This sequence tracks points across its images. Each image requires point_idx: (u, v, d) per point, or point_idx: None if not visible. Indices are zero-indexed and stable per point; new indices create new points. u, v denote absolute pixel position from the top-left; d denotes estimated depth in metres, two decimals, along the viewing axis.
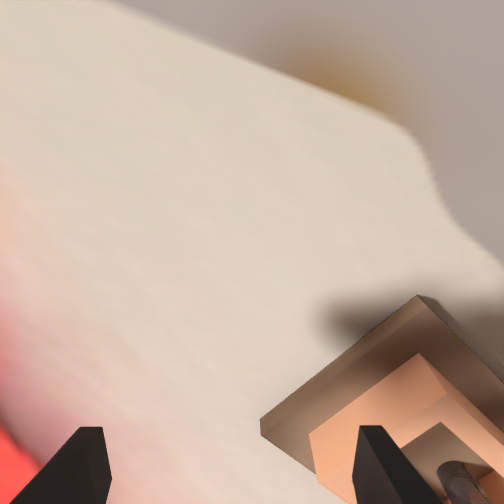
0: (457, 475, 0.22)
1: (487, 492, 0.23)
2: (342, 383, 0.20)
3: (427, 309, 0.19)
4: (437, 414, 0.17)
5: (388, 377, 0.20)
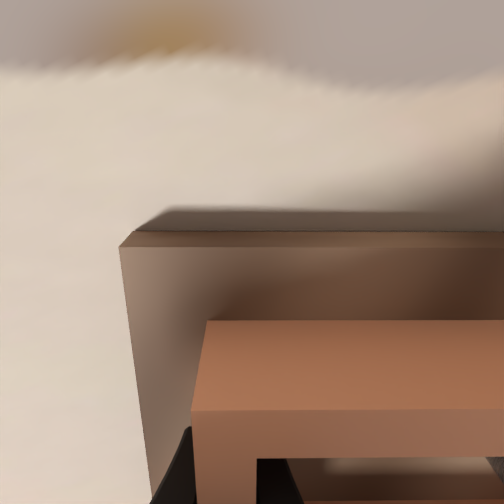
0: None
1: None
2: (165, 441, 0.11)
3: (127, 250, 0.09)
4: (231, 453, 0.07)
5: None
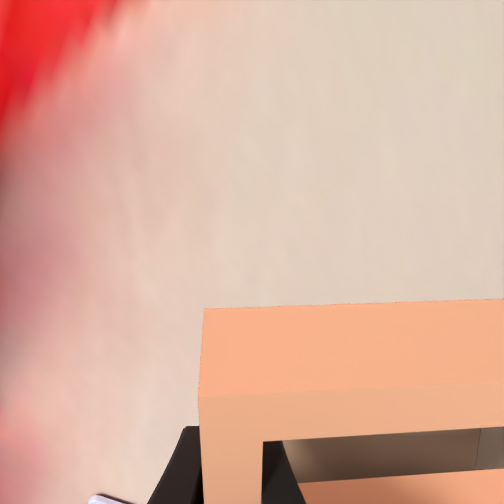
0: None
1: None
2: None
3: None
4: (237, 437, 0.07)
5: None
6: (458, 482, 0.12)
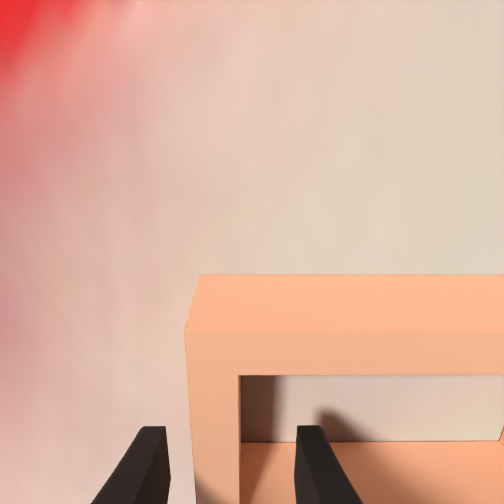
0: None
1: None
2: None
3: None
4: (217, 370, 0.09)
5: None
6: (433, 450, 0.13)
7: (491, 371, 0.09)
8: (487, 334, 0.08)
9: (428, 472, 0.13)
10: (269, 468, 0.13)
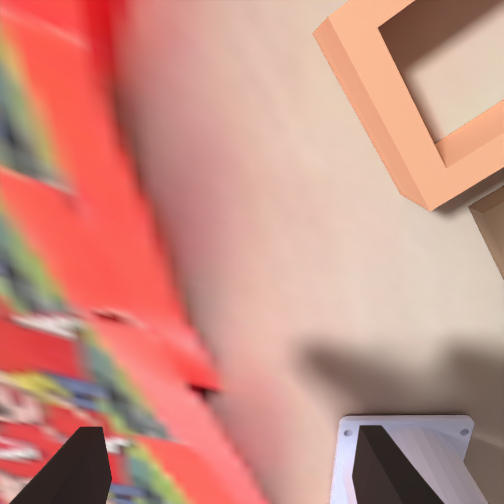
0: None
1: None
2: None
3: None
4: (362, 32, 0.12)
5: (339, 80, 0.15)
6: None
7: None
8: None
9: None
10: (444, 147, 0.16)
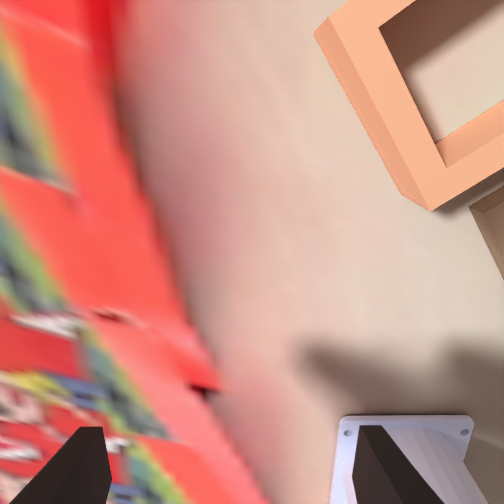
0: None
1: None
2: None
3: None
4: (362, 32, 0.12)
5: (339, 80, 0.15)
6: None
7: None
8: None
9: None
10: (444, 147, 0.16)
